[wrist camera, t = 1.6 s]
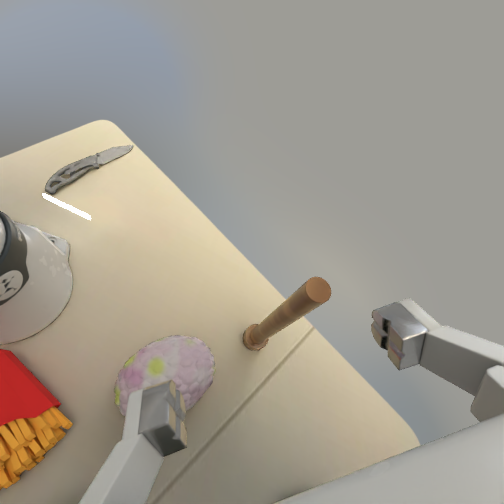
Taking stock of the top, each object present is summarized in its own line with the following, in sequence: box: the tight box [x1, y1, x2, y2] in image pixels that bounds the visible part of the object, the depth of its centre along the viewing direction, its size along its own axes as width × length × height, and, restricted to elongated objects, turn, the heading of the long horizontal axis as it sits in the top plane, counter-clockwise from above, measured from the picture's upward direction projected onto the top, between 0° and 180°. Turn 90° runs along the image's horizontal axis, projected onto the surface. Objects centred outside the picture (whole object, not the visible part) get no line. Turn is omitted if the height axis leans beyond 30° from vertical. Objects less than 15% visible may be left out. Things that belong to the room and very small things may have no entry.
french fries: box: [0, 349, 73, 490], centre depth 32 cm, size 9×4×13 cm
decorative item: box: [114, 335, 216, 416], centre depth 35 cm, size 9×11×10 cm
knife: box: [45, 145, 133, 194], centre depth 50 cm, size 2×18×3 cm
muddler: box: [243, 277, 331, 351], centre depth 33 cm, size 4×4×24 cm
